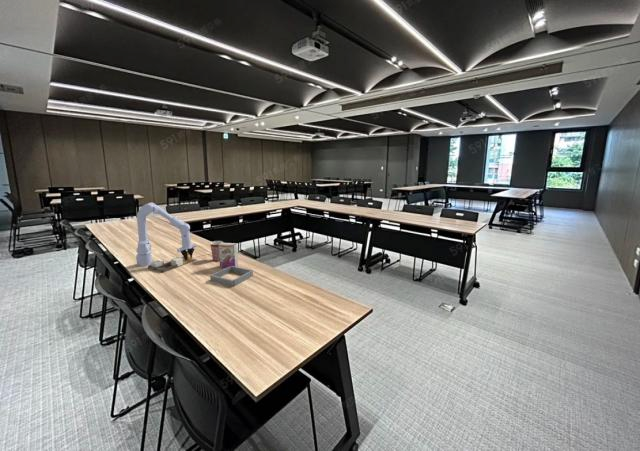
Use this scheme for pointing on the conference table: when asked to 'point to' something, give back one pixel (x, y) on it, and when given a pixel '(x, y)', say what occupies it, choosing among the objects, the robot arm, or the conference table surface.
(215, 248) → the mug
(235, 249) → the candy bar box
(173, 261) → the orange mallet
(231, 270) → the desk tray rim
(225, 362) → the conference table surface
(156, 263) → the grey block
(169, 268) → the lane rack
